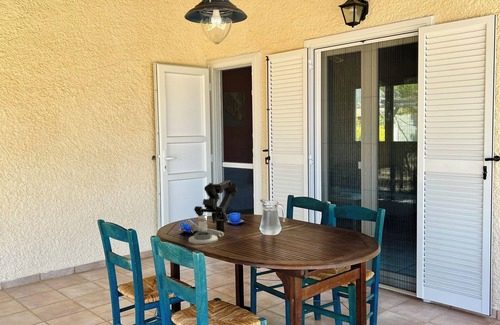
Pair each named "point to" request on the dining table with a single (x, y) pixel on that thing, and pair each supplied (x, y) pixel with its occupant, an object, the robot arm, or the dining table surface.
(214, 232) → the wrench
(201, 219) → the piston
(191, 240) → the white and grey disc
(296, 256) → the dining table surface
